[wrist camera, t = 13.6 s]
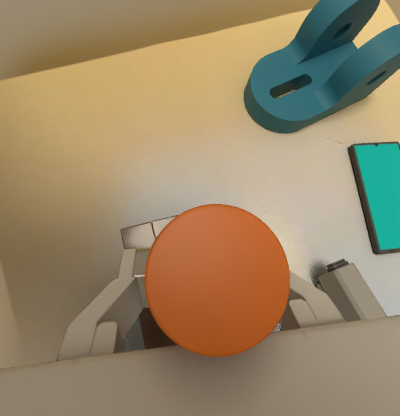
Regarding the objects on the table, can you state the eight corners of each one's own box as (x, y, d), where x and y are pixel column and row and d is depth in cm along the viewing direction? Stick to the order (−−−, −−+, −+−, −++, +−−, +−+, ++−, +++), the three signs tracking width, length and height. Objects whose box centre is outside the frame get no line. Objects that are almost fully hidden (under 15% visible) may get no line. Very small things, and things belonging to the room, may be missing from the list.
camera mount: (327, 43, 39) (382, -36, 29) (366, 97, 37) (438, 34, 27) (230, 83, 35) (253, 11, 25) (268, 144, 34) (309, 93, 24)
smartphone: (379, 254, 31) (351, 143, 34) (374, 254, 32) (347, 146, 35) (430, 248, 32) (399, 141, 35) (424, 248, 33) (394, 144, 36)
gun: (420, 520, 25) (549, 633, 16) (294, 279, 35) (330, 263, 26) (439, 507, 25) (576, 610, 16) (310, 272, 35) (351, 255, 26)
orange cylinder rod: (172, 291, 18) (164, 381, 4) (163, 253, 18) (129, 222, 5) (209, 280, 18) (312, 329, 5) (199, 243, 19) (264, 189, 5)
